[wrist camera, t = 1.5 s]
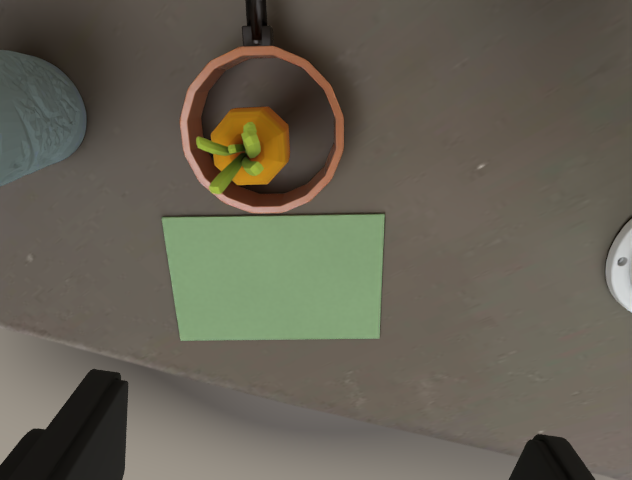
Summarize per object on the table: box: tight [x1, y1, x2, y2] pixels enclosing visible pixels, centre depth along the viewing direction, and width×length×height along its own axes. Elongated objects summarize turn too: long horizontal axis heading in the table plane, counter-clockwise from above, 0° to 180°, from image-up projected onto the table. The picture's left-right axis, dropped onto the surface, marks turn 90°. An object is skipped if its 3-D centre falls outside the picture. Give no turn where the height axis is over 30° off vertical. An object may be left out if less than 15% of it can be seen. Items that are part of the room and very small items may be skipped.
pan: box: [180, 0, 344, 213], centre depth 32 cm, size 22×12×4 cm, turn 1°
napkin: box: [162, 214, 385, 341], centre depth 40 cm, size 20×13×1 cm, turn 91°
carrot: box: [196, 107, 290, 194], centre depth 28 cm, size 5×5×15 cm
